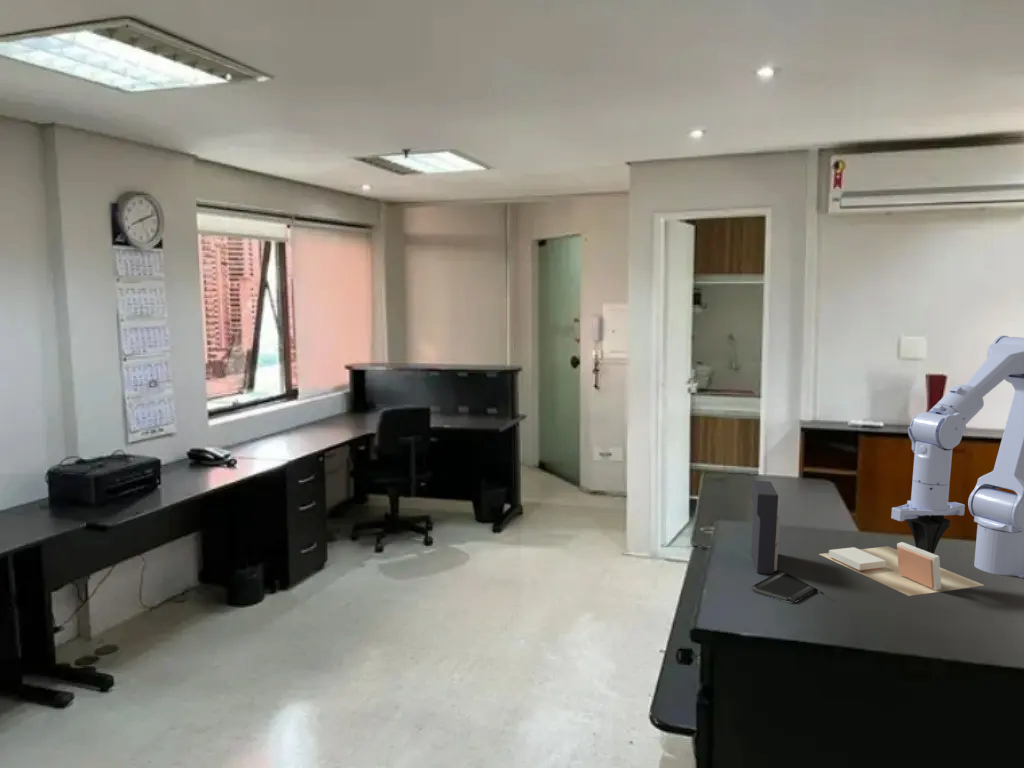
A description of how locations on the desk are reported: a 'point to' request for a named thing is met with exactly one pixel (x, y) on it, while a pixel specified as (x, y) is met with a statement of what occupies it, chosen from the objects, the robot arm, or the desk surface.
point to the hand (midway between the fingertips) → (924, 556)
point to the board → (903, 584)
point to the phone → (783, 587)
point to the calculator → (765, 526)
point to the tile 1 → (857, 559)
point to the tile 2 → (919, 565)
